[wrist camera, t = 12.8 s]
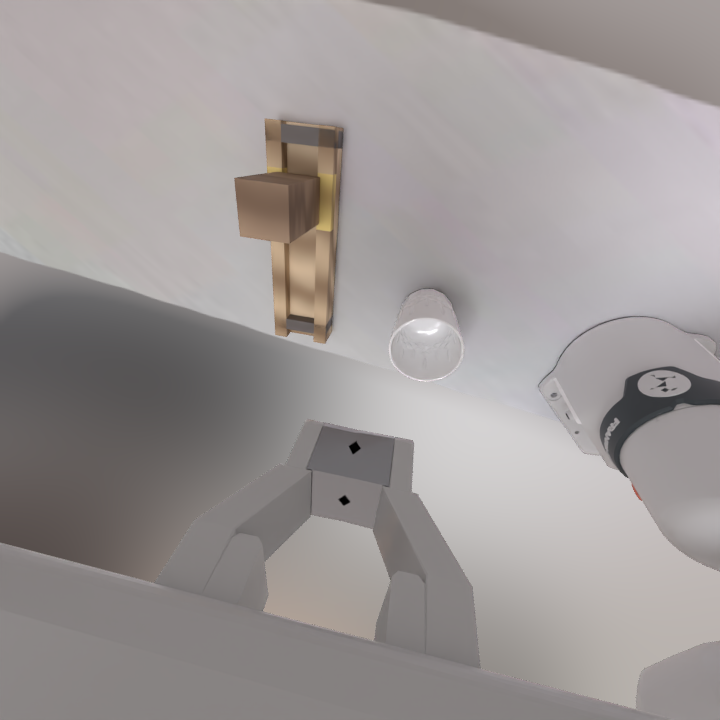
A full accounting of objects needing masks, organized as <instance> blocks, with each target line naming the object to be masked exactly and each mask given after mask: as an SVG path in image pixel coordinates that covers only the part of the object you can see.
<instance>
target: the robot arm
mask: <svg viewBox="0 0 720 720" xmlns="http://www.w3.org/2000/svg"><path fill="white" fill-rule="evenodd" d="M715 351H716V343H715V342H714V341H713V340H712V339H711V338H710V337H708V336H705V335H700V334H692V333H686V332H683V331H681V330H679V329H678V328H676V327H675V326H673V325H671V324H670V323H668V322H665V321H662V320H659V319H655V318H649V317H629V318H622V319H617V320H613V321H610V322H607V323H604V324H601V325H599V326H597V327H595V328H593V329H591V330H589V331H587V332H586V333H584V334H583V335H581V336H580V337H578V338H577V339H576V340H575V341H574V342H572V343H571V344H570V345H569V347H568V348H567V349H566V350H565V351H564V353H563V354H562V356H561V357H560V359H559V361H558V363H557V365H556V367H555V369H554V370H553V372H551V373H550V374H549V375H548V376H547V377H546V378H545V379H544V380H543V381H542V382H541V383H540V384H539V390H540V392H541V393H542V395H543V396H544V398H545V399H546V400H547V402H548V403H549V405H550V406H551V408H552V409H553V411H554V412H555V414H556V415H557V416H558V418H559V419H560V421H561V422H562V424H563V425H564V426H565V428H566V429H567V431H568V432H569V434H570V435H571V437H572V438H573V440H574V441H575V443H576V444H577V445H578V447H579V448H580V449H581V451H582V452H583V453H585V454H590V455H601V456H602V458H603V460H604V461H605V463H606V464H607V466H609V467H610V468H613V469H616V470H619V471H620V472H621V473H622V474H623V475H624V476H626V477H627V478H629V479H630V481H631V483H632V487H633V490H634V492H635V493H636V495H637V497H638V498H639V499H640V500H641V501H643V503H644V504H645V506H646V508H647V509H648V511H649V512H650V514H651V516H652V518H653V519H654V521H655V523H656V524H657V526H658V528H659V529H660V531H661V532H662V534H663V535H664V536H665V537H666V538H667V539H668V541H669V542H670V543H671V544H672V545H674V546H675V547H676V548H677V549H678V550H679V551H681V552H683V553H684V554H685V555H687V556H688V557H690V558H691V559H693V560H695V561H697V562H699V563H701V564H703V565H705V566H707V567H710V568H712V569H715V570H717V571H720V360H719V359H717V358H716V357H715V356H714V355H715ZM552 393H555V394H552ZM413 451H414V442H413V440H408V439H403V438H398V437H395V438H394V437H393V436H388V435H383V434H377V433H372V432H367V431H362V430H355V429H351V428H347V427H342V426H338V425H334V424H330V423H324V422H319V421H315V420H310V419H307V420H306V421H305V422H304V424H303V426H302V428H301V431H300V433H299V435H298V437H297V440H296V442H295V444H294V446H293V448H292V450H291V453H290V455H289V457H288V459H287V461H286V463H285V465H284V464H278V465H277V466H275V467H274V468H272V469H271V470H269V471H268V472H266V473H264V474H263V475H262V476H260V477H258V478H257V479H255V480H254V481H252V482H251V483H249V484H248V485H246V486H245V487H243V488H242V489H240V490H239V491H237V492H236V493H234V494H233V495H231V496H230V497H228V498H227V499H225V500H224V501H222V502H220V503H219V504H217V505H216V506H215V507H213V508H211V509H210V510H209V511H207V512H205V513H204V514H202V515H201V516H199V517H198V518H196V519H195V520H194V522H193V523H192V525H191V526H190V528H189V530H188V531H187V532H186V534H185V536H184V537H183V539H182V540H181V542H180V543H179V546H178V547H177V548H176V550H175V551H174V553H173V554H172V556H171V558H170V559H169V561H168V562H167V564H166V565H165V567H164V568H163V570H162V572H161V573H160V575H159V576H158V578H157V579H156V581H155V582H154V583H152V582H148V581H144V580H141V579H137V578H133V577H129V576H126V575H122V574H118V573H114V572H110V571H106V570H103V569H99V568H95V567H91V566H87V565H84V564H79V563H76V562H72V561H68V560H64V559H60V558H57V557H53V556H49V555H45V554H42V553H37V552H34V551H30V550H26V549H22V548H19V547H15V546H11V545H7V544H3V543H0V720H720V641H716V642H708V643H703V644H700V645H698V646H695V647H693V648H691V649H688V650H686V651H683V652H680V653H678V654H676V655H673V656H671V657H668V658H666V659H664V660H662V661H660V662H658V663H655V664H654V665H651V666H649V667H647V668H645V669H644V670H642V672H641V674H640V678H639V682H638V686H637V695H636V708H637V709H632V708H628V707H625V706H621V705H618V704H614V703H610V702H606V701H602V700H599V699H595V698H591V697H587V696H583V695H579V694H576V693H571V692H568V691H564V690H560V689H556V688H553V687H549V686H545V685H541V684H538V683H533V682H529V681H526V680H522V679H518V678H515V677H510V676H507V675H503V674H499V673H495V672H492V671H488V670H484V669H481V668H480V658H479V648H478V638H477V628H476V618H475V608H474V597H473V587H472V585H471V584H470V582H469V580H468V579H467V577H466V576H465V574H464V572H463V570H462V569H461V567H460V565H459V563H458V562H457V560H456V558H455V557H454V555H453V553H452V552H451V550H450V548H449V546H448V545H447V543H446V541H445V540H444V538H443V537H442V535H441V533H440V531H439V530H438V528H437V526H436V525H435V523H434V521H433V520H432V518H431V516H430V514H429V513H428V511H427V509H426V508H425V506H424V504H423V502H422V501H421V499H420V498H419V496H418V494H416V493H412V473H413ZM310 515H314V516H319V517H324V518H330V519H335V520H339V521H344V522H348V523H351V524H355V525H359V526H363V527H367V528H371V529H373V533H374V535H375V538H376V541H377V544H378V547H379V550H380V552H381V555H382V558H383V561H384V563H385V566H386V569H387V572H388V575H389V577H390V580H391V581H390V584H389V587H388V590H387V593H386V596H385V599H384V602H383V605H382V608H381V611H380V613H379V616H378V619H377V622H376V630H375V638H374V640H370V639H366V638H362V637H358V636H355V635H351V634H347V633H343V632H339V631H335V630H332V629H328V628H324V627H320V626H316V625H313V624H309V623H305V622H301V621H297V620H293V619H290V618H285V617H282V616H278V615H274V614H271V613H267V612H263V609H264V606H265V604H266V601H267V598H268V588H267V580H266V571H265V564H264V562H265V561H266V560H267V559H268V558H269V557H270V556H271V555H272V554H273V553H274V552H275V551H276V550H277V549H278V548H279V547H280V546H281V545H282V544H283V543H284V542H285V541H286V540H287V539H288V538H289V537H290V536H291V535H292V534H293V533H294V532H295V531H296V530H297V529H298V528H299V527H300V526H302V524H303V523H305V521H307V520H308V519H309V518H310Z"/></svg>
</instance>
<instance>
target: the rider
mask: <svg viewBox="0 0 720 720" xmlns="http://www.w3.org/2000/svg"><path fill="white" fill-rule="evenodd" d="M234 179H235V189H236V199H237V209H238V219H239V229H240V236H241V237H248V238H255V239H261V240H268V241H274V242H281V243H287V244H290V243H291V242H293V241H294V240H296V239H297V238H299V237H300V236H302V235H303V234H305V233H306V232H308V231H309V230H311V229H312V228H314V227H315V226H317V225H318V224H319V198H320V177H314V176H307V175H299V174H292V173H284V172H272V173H265V174H258V175H252V176H245V177H238V178H234Z"/></svg>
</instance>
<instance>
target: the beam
mask: <svg viewBox="0 0 720 720" xmlns="http://www.w3.org/2000/svg"><path fill="white" fill-rule="evenodd" d="M265 135H266V155H267V173H272V172H284V173H292V174H299V175H307V176H314V177H320V198H319V224H318V225H317V226H315V227H314V228H312V229H311V230H309V231H308V232H306V233H305V234H303V235H302V236H300V237H299V238H297V239H296V240H294V241H293V242H291V243H290V244H287V243H281V242H274V241H271V255H272V275H273V295H274V315H275V334H276V335H279V336H285V337H287V336H288V335H289V333H290V332H294V333H300V334H306V335H311V336H314V342H318V343H323V344H325V343H326V341H327V339H328V337H329V336H330V334H331V332H332V315H333V298H334V280H335V263H336V246H337V229H338V211H339V194H340V177H341V159H342V142H343V128H339V127H334V126H325V125H313V124H304V123H295V122H287V121H281V120H273V119H265Z"/></svg>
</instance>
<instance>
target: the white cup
mask: <svg viewBox="0 0 720 720" xmlns="http://www.w3.org/2000/svg"><path fill="white" fill-rule="evenodd" d="M463 356H464V343H463V339H462V335H461V331H460V328H459V324H458V321H457V318H456V315H455V312H454V310H453V308H452V303H451V302H450V301H449V299H448V298H447V297H446V296H445V294H443V293H441V292H439V291H436V290H434V289H420V290H418V291H416V292H414V293H412V294H410V295H409V296H408V297H407V299H406V300H405V301H404V302H403V304H402V307H401V310H400V312H399V314H398V317H397V320H396V322H395V325H394V329H393V332H392V336H391V339H390V342H389V357H390V360H391V362H392V364H393V365H394V367H395V368H396V369H397V370H398V371H399V372H400V373H401V374H403V375H404V376H406V377H408V378H410V379H414V380H417V381H426V382H427V381H436V380H440V379H442V378H445V377H447V376H449V375H450V374H451V373H453V372H454V371H455V370H456V369H457V368H458V367H459V365H460V363H461V362H462V359H463Z"/></svg>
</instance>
